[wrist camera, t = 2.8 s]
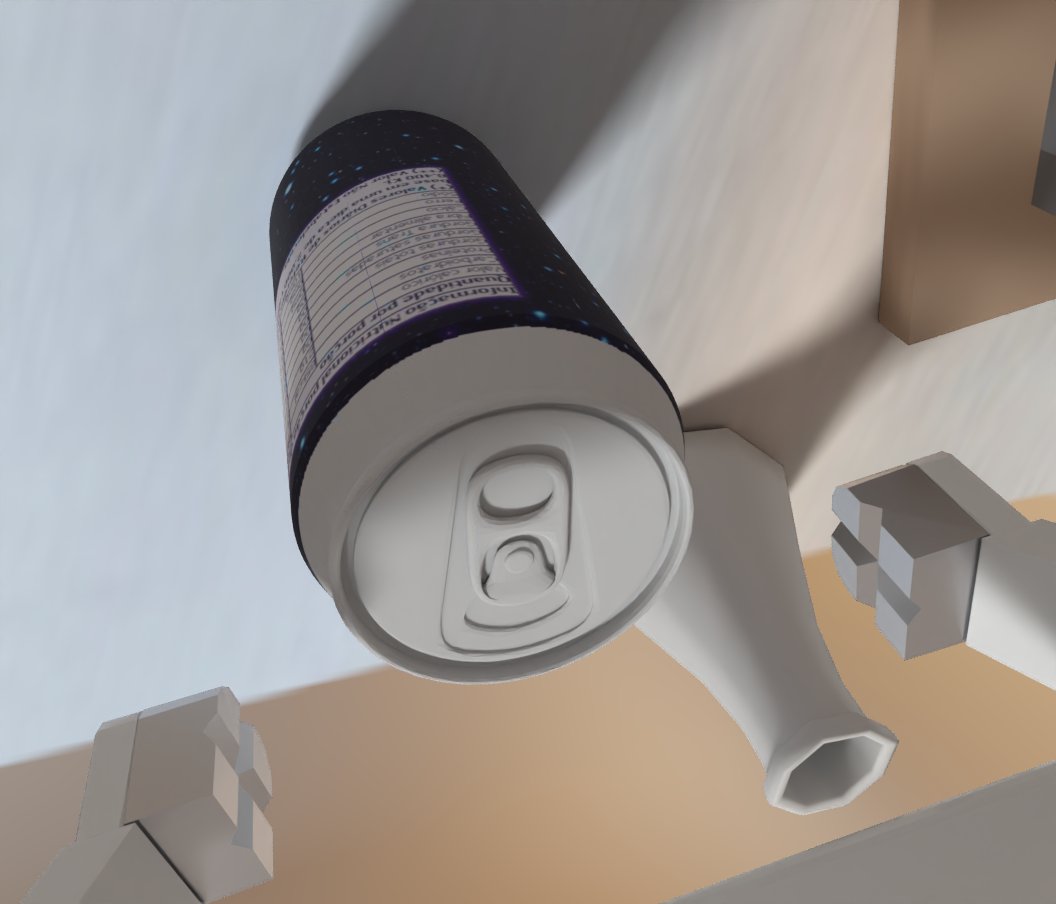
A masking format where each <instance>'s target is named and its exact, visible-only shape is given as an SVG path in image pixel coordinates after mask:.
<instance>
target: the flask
mask: <svg viewBox="0 0 1056 904" xmlns="http://www.w3.org/2000/svg"><path fill="white" fill-rule="evenodd" d="M684 440H685V464H686V466H687V469H688V472H689V475H690V478H691V483H692V487H693V497H694V506H695V509H694V520H693V530H692V533H691V537H690V541H689V544H688V548H687V551H686V553H685V555H684V558H683V560H682V562H681V564H680V566H679V569H678V571H677V572H676V574H675V576H674V577H673V579H672V580H671V582H670V583H669V585H668V587H667V588H666V590H665V591H664V593H663V594H662V595H661V596H660V597H659V598H658V600H657V601H656V602H655V603H654V604H653V606H652V607H651V608H650V609H649V610H648V611H647V612H646V613H645V614H644V615H643V616H642V617H641V618H640V619H639V620H638V621H637V622H636V623H634V624H633V625H635V626H636V627H637V628H638V629H640V630H641V631H642V632H643V633H644V634H646V635H647V636H648V637H649V638H650V639H652V640H653V641H654V642H655V643H656V644H657V645H659V646H660V647H661V648H662V649H663V650H664V651H666V652H667V653H668V654H669V655H670V656H672V657H673V658H674V659H675V660H676V661H677V662H679V663H680V664H681V665H682V666H683V667H685V668H686V669H687V670H688V671H689V672H690V673H692V674H693V675H694V676H695V677H696V678H698V679H699V680H700V681H701V682H702V683H703V684H704V685H705V686H706V687H707V689H708V690H709V691H710V692H711V693H712V694H713V696H714V697H715V698H716V699H717V700H718V702H719V703H720V704H721V705H722V706H723V707H724V709H725V710H726V711H727V712H728V713H729V715H730V716H731V717H732V718H733V719H734V720H735V722H736V723H737V724H738V725H739V726H740V728H741V729H742V730H743V731H744V733H745V735H746V736H747V738H748V740H749V742H750V743H751V745H752V747H753V748H754V750H755V752H756V754H757V755H758V757H759V759H760V761H761V762H762V764H763V766H764V769H765V771H766V774H767V775H766V778H765V781H764V786H763V788H764V792H765V796H766V798H767V800H768V802H769V803H770V804H771V805H772V806H775V807H778V808H781V809H784V810H787V811H789V812H792V813H796V814H798V815H806V814H810V813H814V812H819V811H823V810H828V809H832V808H837V807H841V806H846V805H847V804H848V803H850V802H851V801H852V800H853V799H855V798H856V797H857V796H858V795H860V794H861V793H862V792H863V791H864V790H865V789H867V788H868V787H869V786H870V785H872V784H873V783H874V782H875V781H877V780H878V779H879V778H880V777H882V776H883V775H884V774H885V771H886V769H887V767H888V765H889V763H890V761H891V758H892V756H893V754H894V752H895V750H896V747H897V745H898V743H899V740H898V739H897V737H896V735H895V734H894V733H893V732H892V731H891V730H890V729H888V728H887V727H886V726H884V725H882V724H880V723H878V722H876V721H873V720H871V719H869V718H867V716H866V715H865V714H864V713H863V711H862V710H861V708H860V707H859V705H858V704H857V703H856V701H855V700H854V698H853V697H852V695H851V694H850V692H849V691H848V689H847V688H846V686H845V685H844V684H843V682H842V680H841V678H840V675H839V673H838V671H837V669H836V667H835V664H834V662H833V660H832V657H831V655H830V653H829V650H828V648H827V646H826V644H825V641H824V639H823V637H822V634H821V632H820V630H819V628H818V625H817V622H816V617H815V613H814V609H813V604H812V600H811V596H810V592H809V588H808V584H807V580H806V575H805V572H804V567H803V563H802V558H801V554H800V550H799V545H798V540H797V534H796V529H795V524H794V518H793V513H792V508H791V502H790V497H789V491H788V487H787V482H786V478H785V474H784V469H783V466H782V465H781V464H779V463H778V462H776V461H775V460H773V459H772V458H771V457H769V456H768V455H766V454H765V453H763V452H762V451H760V450H759V449H758V448H756V447H755V446H753V445H752V444H750V443H749V442H748V441H746V440H745V439H743V438H742V437H740V436H739V435H737V434H736V433H735V432H733V431H732V430H730V429H729V428H721V429H711V430H702V431H692V432H684Z"/></svg>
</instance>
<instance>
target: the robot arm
mask: <svg viewBox="0 0 1056 904" xmlns="http://www.w3.org/2000/svg"><path fill="white" fill-rule="evenodd" d="M832 511H833V512H834V513H835V514H836V516H837V517H838V518H839V519H840V520H841V522H840V524H839V525H838V526H837V528H836V529H835V531H834V532H833V534H832V555H833V559H834V562H835V565H836V568H837V572H838V574H839V576H840V578H841V579H842V581H843V583H844V585H845V587H846V588H847V589H848V591H849V592H850V593H851V595H852V596H853V597H854V599H855V600H856V601H858V602H861V603H863V604H866V605H868V606H871V607H873V608H876V616H875V625H876V626H877V627H878V629H879V630H880V631H881V632H882V634H883V635H884V636H885V637H886V639H887V640H888V641H889V642H890V643H891V645H892V646H893V647H894V648H895V650H896V651H897V652H898V653H899V654H900V656H901V657H902V658H903V659H904V661H905V660H908V659H912V658H915V657H918V656H921V655H924V654H927V653H931V652H933V651H937V650H940V649H943V648H946V647H950V646H953V645H956V644H959V643H962V642H965V641H966V645H967V646H969V647H971V648H973V649H975V650H977V651H979V652H981V653H983V654H985V655H987V656H989V657H991V658H993V659H995V660H997V661H999V662H1001V663H1003V664H1005V665H1006V666H1008V667H1010V668H1013V669H1015V670H1016V671H1019V672H1020V673H1022V674H1024V675H1026V676H1028V677H1030V678H1032V679H1034V680H1036V681H1038V682H1040V683H1042V684H1044V685H1046V686H1048V687H1050V688H1052V689H1054V690H1056V523H1054V522H1050V521H1047V520H1044V519H1040V520H1036V521H1033V522H1030V521H1029V520H1028V519H1027V518H1025V517H1024V516H1023V515H1022V514H1021V513H1020V512H1018V511H1017V510H1016V509H1015V508H1014V507H1012V506H1011V505H1010V504H1009V503H1008V502H1007V501H1006V500H1004V499H1003V498H1002V497H1001V496H1000V495H998V494H997V493H996V492H995V491H994V490H993V489H991V488H990V487H989V486H988V485H987V484H986V483H984V482H983V481H982V480H981V479H980V478H979V477H977V476H976V475H975V474H974V473H973V472H972V471H970V470H969V469H968V468H967V467H966V466H965V465H963V464H962V463H961V462H960V461H959V460H958V459H956V458H955V457H954V456H953V455H951V454H949V453H946V452H943V451H941V452H938V453H935V454H932V455H929V456H926V457H923V458H920V459H917V460H914V461H911V462H908V463H906V464H905V465H900V466H897V467H894V468H891V469H888V470H885V471H882V472H879V473H876V474H873V475H870V476H867V477H864V478H861V479H858V480H855V481H852V482H849V483H846V484H843V485H840V486H837V487H836V489H835V491H834V493H833V495H832ZM271 782H272V781H271V773H270V768H269V763H268V758H267V753H266V751H265V748H264V746H263V743H262V741H261V738H260V736H259V735H258V733H257V731H256V730H255V728H254V726H253V725H250V724H247V723H245V722H242V721H240V703H239V702H238V700H237V699H236V697H235V696H234V694H233V693H232V691H231V690H230V688H229V687H223V686H222V687H218V688H215V689H212V690H208V691H205V692H202V693H198V694H195V695H192V696H188V697H185V698H182V699H178V700H175V701H171V702H168V703H165V704H161V705H158V706H155V707H151V708H148V709H145V710H143V711H141V712H138V713H134V714H131V715H128V716H124V717H121V718H117V719H114V720H111V721H107V722H104V723H103V724H102V725H101V727H100V728H99V730H98V731H97V733H96V735H95V739H94V744H93V749H92V755H91V760H90V766H89V771H88V776H87V782H86V787H85V792H84V797H83V803H82V808H81V813H80V818H79V824H78V829H77V834H76V840H75V843H72V844H69V845H67V846H64V847H62V848H61V850H60V851H59V852H58V853H57V855H56V856H55V857H54V859H53V860H52V861H51V863H50V864H49V865H48V867H47V868H46V869H45V871H44V872H43V873H42V874H41V876H40V877H39V878H38V880H37V881H36V882H35V884H34V885H33V886H32V888H31V889H30V890H29V892H28V893H27V894H26V896H25V897H24V898H23V899H22V901H21V902H20V903H19V904H208V903H210V902H213V901H216V900H218V899H221V898H224V897H226V896H229V895H232V894H234V893H237V892H240V891H242V890H245V889H248V888H250V887H253V886H256V885H258V884H261V883H264V882H266V881H269V880H272V879H273V834H272V833H273V830H272V828H271V826H270V825H269V823H268V822H267V820H266V819H265V817H264V816H263V812H264V810H265V808H266V807H267V805H268V804H269V802H270V800H271V799H272V783H271ZM660 904H1056V760H1054V761H1051V762H1048V763H1046V764H1042V765H1040V766H1037V767H1034V768H1031V769H1029V770H1026V771H1023V772H1020V773H1018V774H1015V775H1012V776H1010V777H1007V778H1004V779H1001V780H999V781H995V782H993V783H990V784H987V785H985V786H982V787H979V788H976V789H974V790H971V791H968V792H965V793H962V794H960V795H957V796H954V797H951V798H949V799H946V800H943V801H940V802H938V803H935V804H932V805H929V806H927V807H924V808H921V809H918V810H916V811H913V812H910V813H908V814H905V815H902V816H899V817H896V818H894V819H891V820H888V821H886V822H883V823H880V824H877V825H874V826H872V827H869V828H866V829H864V830H861V831H858V832H855V833H853V834H850V835H847V836H844V837H841V838H839V839H836V840H833V841H831V842H828V843H825V844H822V845H819V846H817V847H814V848H811V849H808V850H806V851H803V852H800V853H797V854H795V855H792V856H789V857H786V858H783V859H781V860H778V861H775V862H772V863H770V864H767V865H764V866H761V867H759V868H756V869H753V870H750V871H748V872H745V873H742V874H739V875H737V876H734V877H731V878H728V879H726V880H723V881H720V882H717V883H715V884H712V885H709V886H706V887H704V888H701V889H698V890H695V891H693V892H690V893H687V894H684V895H682V896H679V897H676V898H674V899H671V900H668V901H665V902H663V903H660Z"/></svg>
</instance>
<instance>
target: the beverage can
mask: <svg viewBox="0 0 1056 904" xmlns="http://www.w3.org/2000/svg"><path fill="white" fill-rule="evenodd" d="M269 235H270V250H271V263H272V276H273V288H274V301H275V313H276V326H277V338H278V351H279V364H280V376H281V389H282V401H283V414H284V426H285V439H286V452H287V464H288V477H289V489H290V502H291V515H292V523H293V529H294V533H295V537H296V541H297V544H298V547H299V550H300V552H301V555H302V557H303V559H304V561H305V563H306V565H307V566H308V568H309V570H310V571H311V573H312V574H313V576H314V577H315V579H316V580H317V581H318V582H319V584H320V585H321V586H322V587H323V588H324V590H325V591H326V592H327V593H328V594H329V595H330V596H331V597H332V598H333V599H334V602H335V605H336V608H337V610H338V612H339V614H340V616H341V618H342V620H343V621H344V623H345V625H346V626H347V627H348V629H349V630H350V631H351V632H352V634H353V635H354V636H355V638H356V639H357V640H358V641H359V642H360V643H361V644H362V645H363V646H364V647H365V648H367V649H368V650H369V651H370V652H371V653H372V654H374V655H375V656H376V657H378V658H379V659H381V660H383V661H384V662H386V663H388V664H389V665H391V666H393V667H395V668H397V669H399V670H402V671H405V672H407V673H410V674H412V675H415V676H418V677H423V678H426V679H431V680H435V681H439V682H447V683H456V684H494V683H501V682H509V681H516V680H521V679H525V678H529V677H533V676H538V675H541V674H544V673H547V672H550V671H553V670H555V669H559V668H561V667H564V666H567V665H569V664H571V663H573V662H575V661H577V660H580V659H582V658H584V657H586V656H588V655H590V654H592V653H593V652H595V651H596V650H598V649H600V648H602V647H603V646H605V645H606V644H608V643H610V642H611V641H613V640H614V639H615V638H617V637H618V636H619V635H621V634H622V633H623V632H625V631H626V630H627V629H629V628H630V627H631V626H632V625H633V624H634V623H636V622H637V621H638V620H639V619H640V618H641V617H642V616H643V615H644V614H645V613H646V612H647V611H648V610H649V609H650V608H651V607H652V606H653V604H654V603H655V602H656V601H657V600H658V598H659V597H660V596H661V595H662V594H663V593H664V591H665V590H666V588H667V587H668V585H669V583H670V582H671V580H672V579H673V577H674V576H675V574H676V572H677V571H678V569H679V566H680V564H681V562H682V560H683V558H684V555H685V553H686V551H687V548H688V544H689V541H690V537H691V533H692V530H693V520H694V509H695V506H694V497H693V487H692V483H691V478H690V475H689V472H688V469H687V466H686V464H685V440H684V431H683V425H682V420H681V416H680V413H679V410H678V406H677V404H676V401H675V399H674V397H673V395H672V393H671V391H670V389H669V387H668V385H667V384H666V382H665V381H664V379H663V378H662V376H661V375H660V373H659V372H658V371H657V369H656V368H655V367H654V366H653V364H652V363H651V362H650V360H649V359H648V358H647V356H646V355H645V354H644V352H643V351H642V350H641V348H640V347H639V346H638V344H637V343H636V342H635V341H634V339H633V338H632V337H631V335H630V334H629V333H628V331H627V330H626V329H625V327H624V326H623V325H622V323H621V322H620V321H619V319H618V318H617V317H616V316H615V314H614V313H613V312H612V310H611V309H610V308H609V306H608V305H607V304H606V302H605V301H604V300H603V298H602V297H601V296H600V294H599V293H598V292H597V291H596V289H595V288H594V287H593V285H592V284H591V283H590V281H589V280H588V279H587V277H586V276H585V275H584V273H583V272H582V271H581V269H580V268H579V267H578V266H577V264H576V263H575V262H574V260H573V259H572V258H571V256H570V255H569V254H568V252H567V251H566V250H565V248H564V247H563V246H562V244H561V243H560V242H559V241H558V239H557V238H556V237H555V235H554V234H553V233H552V231H551V230H550V229H549V227H548V226H547V225H546V223H545V222H544V221H543V220H542V218H541V217H540V216H539V214H538V213H537V212H536V210H535V209H534V208H533V206H532V205H531V204H530V202H529V201H528V200H527V198H526V197H525V196H524V195H523V193H522V192H521V191H520V189H519V188H518V187H517V185H516V184H515V183H514V181H513V180H512V179H511V177H510V176H509V175H508V173H507V172H506V171H505V170H504V168H503V167H502V166H501V164H500V163H499V162H498V160H497V159H496V158H495V156H494V155H493V154H492V153H491V152H490V151H489V149H488V148H487V147H486V146H485V145H484V144H483V143H482V142H480V141H479V140H478V139H477V138H476V137H474V136H473V135H472V134H470V133H469V132H467V131H466V130H464V129H463V128H461V127H459V126H458V125H456V124H454V123H452V122H450V121H447V120H445V119H442V118H440V117H437V116H433V115H430V114H426V113H421V112H416V111H407V110H386V111H377V112H372V113H367V114H363V115H360V116H356V117H353V118H351V119H348V120H345V121H343V122H341V123H339V124H337V125H335V126H333V127H332V128H330V129H328V130H326V131H325V132H324V133H322V134H321V135H319V136H318V137H317V138H315V139H314V140H313V141H312V142H311V143H309V144H308V145H307V146H306V147H305V148H304V149H303V150H302V151H301V153H300V154H299V155H298V156H297V157H296V158H295V160H294V161H293V162H292V164H291V165H290V167H289V168H288V170H287V171H286V173H285V175H284V177H283V179H282V181H281V183H280V185H279V187H278V190H277V192H276V195H275V198H274V202H273V206H272V211H271V217H270V230H269Z"/></svg>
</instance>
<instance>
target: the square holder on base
mask: <svg viewBox="0 0 1056 904" xmlns="http://www.w3.org/2000/svg"><path fill="white" fill-rule="evenodd" d="M1055 298H1056V0H900V5H899V20H898V36H897V51H896V66H895V81H894V96H893V111H892V127H891V142H890V157H889V172H888V187H887V202H886V217H885V233H884V248H883V263H882V278H881V293H880V308H879V323H881V324H882V325H883V326H885V327H886V328H887V329H888V330H890V331H891V332H892V333H893V334H895V335H896V336H897V337H898V338H900V339H901V340H902V341H904V342H905V343H906V344H907V345H911V344H914V343H918V342H921V341H924V340H927V339H930V338H933V337H936V336H939V335H943V334H946V333H949V332H952V331H955V330H958V329H961V328H965V327H968V326H971V325H974V324H977V323H980V322H983V321H986V320H990V319H993V318H996V317H999V316H1002V315H1005V314H1008V313H1012V312H1015V311H1018V310H1021V309H1024V308H1027V307H1030V306H1033V305H1037V304H1040V303H1043V302H1046V301H1049V300H1052V299H1055Z"/></svg>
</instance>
